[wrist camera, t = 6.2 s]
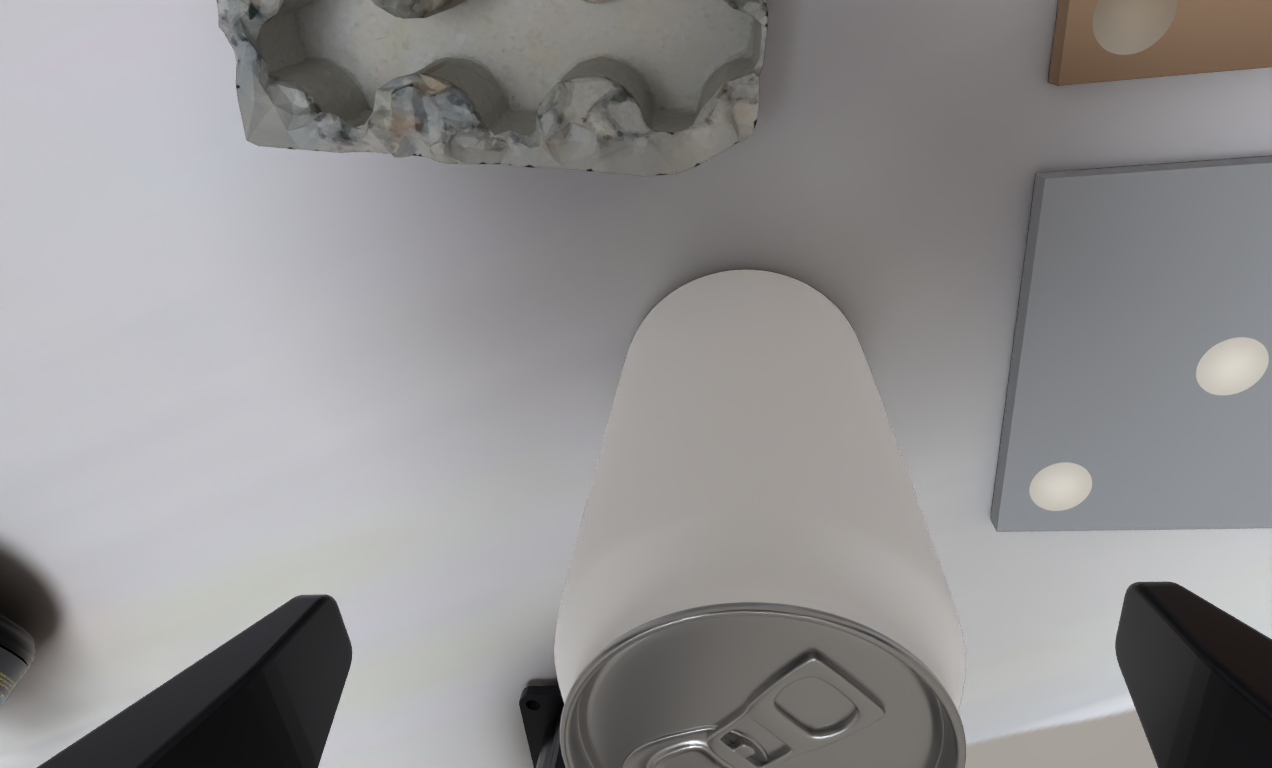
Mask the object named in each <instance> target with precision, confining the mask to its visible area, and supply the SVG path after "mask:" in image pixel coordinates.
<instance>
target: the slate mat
mask: <svg viewBox="0 0 1272 768" xmlns="http://www.w3.org/2000/svg"><path fill="white" fill-rule="evenodd" d="M991 521H992V523H993V525H994V527H995V529H996V531H997V532H1012V531H1090V530H1167V529H1245V528H1272V156H1264V157H1250V158H1236V159H1223V160H1209V161H1195V162H1181V163H1167V164H1154V165H1140V166H1126V167H1112V168H1098V169H1085V170H1071V171H1057V172H1043V173H1036V177H1035V185H1034V192H1033V200H1032V207H1031V215H1030V223H1029V230H1028V238H1027V245H1026V253H1025V261H1024V268H1023V276H1022V283H1021V291H1020V299H1019V306H1018V314H1017V321H1016V329H1015V336H1014V344H1013V352H1012V359H1011V367H1010V374H1009V382H1008V390H1007V397H1006V405H1005V412H1004V420H1003V427H1002V435H1001V443H1000V450H999V458H998V465H997V473H996V481H995V488H994V496H993V503H992V511H991Z"/></svg>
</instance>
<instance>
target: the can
mask: <svg viewBox="0 0 1272 768" xmlns="http://www.w3.org/2000/svg"><path fill="white" fill-rule="evenodd" d="M554 659H555V668H556V674H557V680H558V684H559V688H560V691H561V695H562V698H563V701H564V707H563V711H562V715H561V722H560V745H561V752H562V756H563V760H564V763H565V767H566V768H965V761H966V740H965V733H964V729H963V725H962V721H961V718H960V715H959V713H958V710H959V707H960V703H961V698H962V694H963V688H964V681H965V670H966V656H965V647H964V641H963V636H962V631H961V627H960V622H959V619H958V615H957V612H956V609H955V606H954V603H953V599H952V596H951V593H950V590H949V587H948V584H947V581H946V579H945V576H944V573H943V570H942V567H941V564H940V561H939V559H938V556H937V553H936V550H935V547H934V544H933V541H932V539H931V536H930V533H929V530H928V527H927V525H926V522H925V519H924V516H923V514H922V511H921V508H920V505H919V502H918V500H917V497H916V494H915V491H914V488H913V486H912V483H911V480H910V477H909V475H908V472H907V469H906V466H905V464H904V461H903V458H902V455H901V453H900V450H899V447H898V444H897V442H896V439H895V436H894V433H893V431H892V428H891V425H890V422H889V420H888V417H887V414H886V412H885V409H884V406H883V403H882V401H881V398H880V395H879V393H878V390H877V387H876V384H875V382H874V379H873V376H872V374H871V371H870V368H869V366H868V363H867V361H866V358H865V355H864V353H863V350H862V348H861V345H860V343H859V341H858V338H857V336H856V334H855V332H854V330H853V329H852V327H851V325H850V324H849V322H848V321H847V319H846V318H845V316H844V315H843V314H842V313H841V311H840V310H839V309H838V308H837V307H836V306H835V305H834V304H833V303H832V302H831V301H830V300H829V299H828V298H826V297H825V296H824V295H823V294H821V293H820V292H818V291H817V290H815V289H814V288H812V287H810V286H809V285H807V284H805V283H803V282H801V281H798V280H796V279H794V278H791V277H788V276H785V275H781V274H778V273H773V272H768V271H760V270H731V271H724V272H719V273H714V274H710V275H707V276H704V277H701V278H698V279H696V280H693V281H691V282H689V283H687V284H685V285H683V286H681V287H679V288H678V289H676V290H675V291H673V292H672V293H670V294H669V295H668V296H666V297H665V298H664V299H663V300H661V301H660V302H659V303H658V304H657V305H656V306H655V307H654V308H653V309H652V310H651V311H650V313H649V314H648V315H647V316H646V318H645V319H644V320H643V322H642V323H641V325H640V326H639V328H638V330H637V332H636V334H635V336H634V338H633V340H632V342H631V345H630V348H629V351H628V354H627V357H626V360H625V364H624V367H623V370H622V374H621V377H620V381H619V384H618V388H617V392H616V395H615V399H614V403H613V406H612V410H611V413H610V417H609V421H608V425H607V428H606V432H605V436H604V439H603V443H602V447H601V450H600V454H599V458H598V462H597V465H596V469H595V473H594V476H593V480H592V484H591V488H590V491H589V495H588V499H587V503H586V506H585V510H584V514H583V518H582V522H581V525H580V529H579V533H578V537H577V541H576V544H575V548H574V552H573V556H572V560H571V564H570V568H569V572H568V576H567V579H566V583H565V587H564V592H563V596H562V601H561V605H560V609H559V614H558V619H557V625H556V633H555V643H554Z"/></svg>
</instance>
